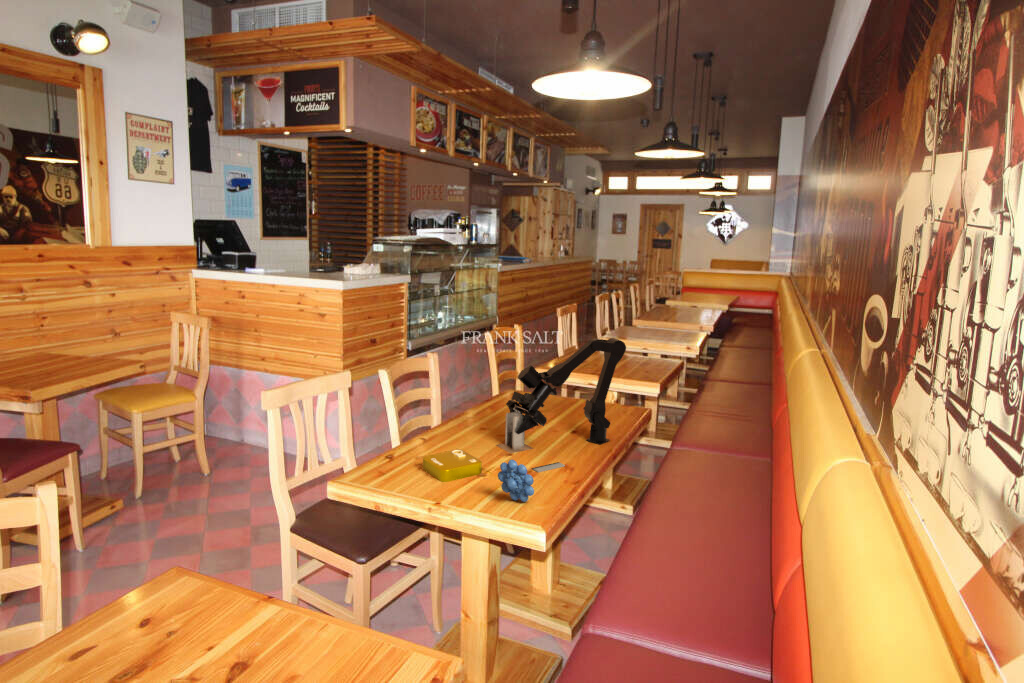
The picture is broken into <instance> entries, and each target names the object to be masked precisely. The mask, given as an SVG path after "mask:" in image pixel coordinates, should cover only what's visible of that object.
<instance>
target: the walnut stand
mask: <svg viewBox="0 0 1024 683" xmlns="http://www.w3.org/2000/svg"><path fill="white" fill-rule="evenodd" d="M512 441H513V435H512V436H511V445H510V446H505V442H503V443H498V444H495V446H496V447H498V448H500V449H502V450H504V451H505V452H507V453H509V454H515V453H519V452H525V451H528V450H529V451H530V450H534V449H535V448H534V447H532V446H530V445H528V444H526V443H524V448H522V449H517V450H513V449H512Z"/></svg>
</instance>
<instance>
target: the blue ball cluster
mask: <svg viewBox="0 0 1024 683" xmlns="http://www.w3.org/2000/svg"><path fill="white" fill-rule="evenodd" d="M499 469H500V471H498V473H497V479H498V480H499V481H500V482H501V485H500V486H501V490H502V491H503V492H504V493H506V494H508V493H509V498H510V499H511V500H512V501H518V500H520V501H521V502H523V503H525V502H528V500H529V497H531V496H533V495H534V494H535V489H534V487H532V486H533V484H534V477H533V476H532V475H531V474H529V473H528V467H527V466H526V465H525V464H523V463H520V464H518V463H517V461H516V460H514V459H509V461H507V462H502V463H500V466H499Z"/></svg>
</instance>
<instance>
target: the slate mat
mask: <svg viewBox="0 0 1024 683" xmlns="http://www.w3.org/2000/svg"><path fill="white" fill-rule="evenodd" d="M562 467H565V464H564V463H561V462H560V461H558V462H553V463H549V464H544V465H539V466H536V467H531V468H530V469H531V470H532V471H533V472H537V473H543V472H545V471H550V470H555V469H559V468H562Z"/></svg>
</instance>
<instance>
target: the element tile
mask: <svg viewBox="0 0 1024 683" xmlns="http://www.w3.org/2000/svg"><path fill="white" fill-rule="evenodd" d="M482 465H483V462H482V460H481V459H479V458H477V457H475V456H474V455H472V454H470V453H468V452H467V451H465V450H463V449H459V448H458V449H457V448H456V449H451V450H447V451H443V452H442V451H441V452H438V453H433V454H428V455H424V456H423V457H422V470H423V471H424V472H426V473H427V474H429V475H430V476H431V477H433V478H435V479H436V480H438V481H439V482H441V483H449V482H453V481H457V480H462V479H466V478H471V477H474V476H478V475H481V474H483V472H482V471H483V468H482V467H483V466H482Z"/></svg>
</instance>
